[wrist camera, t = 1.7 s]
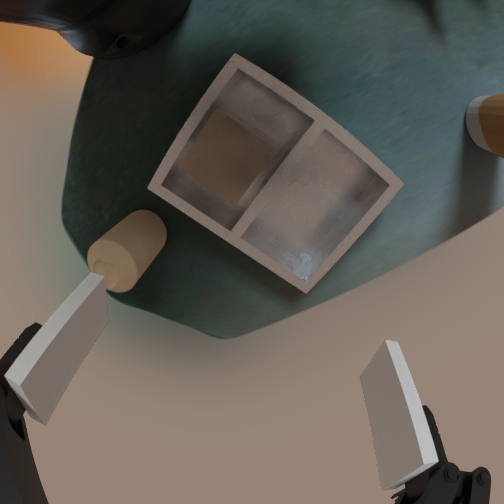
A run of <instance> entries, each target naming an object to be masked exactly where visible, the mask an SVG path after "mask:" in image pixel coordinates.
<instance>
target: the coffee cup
mask: <svg viewBox="0 0 504 504" xmlns="http://www.w3.org/2000/svg"><path fill="white" fill-rule="evenodd" d="M466 126H467V129H468V133H469V134H470V136H471V138H472V139H473V141H474V142H475V143H476V144H477V145H478V146H479V147H480V148H482V149H484V150H487V151H489V152H492V153H494V154H496V155H497V156H500V157H502V158H504V94H496V95H492V96H480V97H477V98H475V99H474V100H473V101H472V102H471V103H470V104H469V106H468V108H467V111H466Z"/></svg>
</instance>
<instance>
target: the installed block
mask: <svg viewBox="0 0 504 504" xmlns="http://www.w3.org/2000/svg"><path fill="white" fill-rule="evenodd" d="M276 151H277V142H276V140H274V139H273V138H271V137H270V136H269V135H267V134H266V133H264V132H263V131H261V130H260V129H258V128H257V127H255V126H254V125H253V124H251V123H250V122H248V121H247V120H245V119H243V118H242V117H240V116H239V115H237V114H236V113H234V112H233V111H227V110H221V109H215V111H214V112H213V114H212V115H211V116H210V118H209V119H208V121H207V122H206V124H205V125H204V127H203V128H202V130H201V131H200V133H199V134H198V136H197V138H196V139H195V141H194V142H193V144H192V145H191V147H190V148H189V150H188V152H187V153H186V155H185V156H184V158H183V160H182V161H181V163H180V165H179V166H178V168H179V169H180V170H182V171H183V172H185V173H186V174H188V175H189V176H191V177H192V178H194V179H195V180H197V181H198V182H200V183H201V184H203V185H204V186H206V187H207V188H209V189H210V190H212V191H213V192H215V193H216V194H218V195H219V196H221V197H222V198H224V199H225V200H227V201H228V202H230V203H231V204H232V205H234V206H236V205H237V203H238V202H239V200H240V199H241V198H242V196H243V195H244V194H245V192H246V191H247V189H248V188H249V187H250V185H251V184H252V183H253V181H254V180H255V179H256V177H257V176H258V174H259V173H260V172H261V170H262V169H263V168H264V166H265V165H266V164H267V162H268V161H269V160H270V158H271V157H272V156H273V154H274V153H275V152H276Z"/></svg>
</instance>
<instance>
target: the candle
mask: <svg viewBox="0 0 504 504" xmlns="http://www.w3.org/2000/svg"><path fill="white" fill-rule="evenodd" d="M166 239H167V230H166V227H165V224H164V222H163V221H162V219H161V218H160V217H159V216H158V215H157V214H155V213H153V212H151V211H149V210H137V211H135V212H133V213H131V214H130V215H128V216H127V217H126V218H124V219H123V220H122V221H120V222H119V223H118V224H117V225H115V226H114V227H113V228H112V229H110V230H109V231H108V232H107V233H105V234H104V235H103V236H102V237H101V238H99V239H98V240H97V241H96V242H95V243H93V244H92V245H91V247H90V249H89V251H88V256H87V261H88V266H89V269H90V272H93V273H96V274H99V275H102V276H105V285H106V289H108V290H110V291H114V292H126V291H128V290H130V289H131V288H132V287H133V286H134V285H135V284H136V282H137V281H138V280H139V278H140V277H141V276H142V274H143V273H144V272H145V270H146V269H147V268H148V266H149V265H150V264H151V262H152V261H153V260H154V258H155V257H156V256H157V255H158V253H159V252H160V251H161V249H162V248H163V247H164V245H165V242H166Z"/></svg>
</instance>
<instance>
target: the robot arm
mask: <svg viewBox="0 0 504 504" xmlns="http://www.w3.org/2000/svg"><path fill="white" fill-rule="evenodd" d="M189 2H190V0H0V22H5V23H14V24H21V25H27V26H33V27H39V28H44V29H50V30H54V31H57V32H58V33H59V34H60V35H61V36H62V37H63V38H64V39H65V40H66V41H67V42H68V43H69V44H70V45H71V46H72V47H73V48H75V49H76V50H77V51H79V52H81V53H83V54H85V55H89V56H93V57H97V58H103V59H116V58H122V57H126V56H129V55H132V54H135V53H137V52H139V51H141V50H143V49H145V48H147V47H149V46H150V45H152V44H153V43H155V42H156V41H158V40H159V39H160V38H162V37H163V36H164V35H165V34H166V33H167V32H168V31H169V30H170V29H171V28H172V27H173V26H174V25H175V24H176V23H177V22H178V20H179V19H180V18H181V16H182V15H183V13H184V12H185V10H186V8H187V6H188V4H189ZM108 322H109V319H108V310H107V298H106V285H105V276H102V275H99V274H96V273H93V272H91V273H90V274H89V275H88V276H87V277H86V278H85V279H84V280H83V281H82V282H81V283H80V284H79V285H78V286H77V288H76V289H75V290H74V291H73V292H72V293H71V294H70V295H69V296H68V297H67V298H66V300H65V301H64V302H63V303H62V304H61V305H60V306H59V307H58V309H57V310H56V311H55V312H54V313H53V314H52V316H51V317H50V318H49V319H48V320H47V321H46V323H45V324H44V325H43V326H42V325H40V324H38V323H34V324H32V325H31V326H29V327H27V328H26V329H25V330H24V331H23V333H22V334H21V335H20V336H19V338H18V339H17V340H16V341H15V342H14V344H13V345H12V346H11V347H10V348H9V350H8V351H7V352H6V353H5V354H4V356H3V357H2V358H1V360H0V504H48V501H47V498H46V495H45V493H44V490H43V487H42V484H41V481H40V478H39V475H38V472H37V469H36V465H35V462H34V458H33V454H32V451H31V447H30V442H29V439H28V434H27V429H26V424H25V419H24V416H23V414H24V412H25V410H26V411H27V412H28V414H29V415H30V417H32V418H33V419H35V420H36V421H38V422H40V423H42V424H43V425H45V426H46V424H47V422H48V421H49V419H50V417H51V415H52V413H53V411H54V410H55V408H56V406H57V404H58V402H59V401H60V399H61V397H62V395H63V394H64V392H65V390H66V389H67V387H68V385H69V383H70V382H71V380H72V378H73V377H74V375H75V373H76V372H77V370H78V368H79V367H80V365H81V364H82V362H83V360H84V359H85V357H86V356H87V354H88V352H89V351H90V349H91V348H92V346H93V345H94V343H95V342H96V340H97V338H98V337H99V335H100V334H101V332H102V331H103V329H104V328H105V326H106V324H107V323H108ZM360 379H361V384H362V388H363V393H364V397H365V402H366V407H367V411H368V416H369V421H370V426H371V432H372V437H373V442H374V448H375V454H376V460H377V465H378V472H379V479H380V486H381V491H382V490H390V489H396V488H397V487H399V486H401V485H403V484H405V489H403V490H401V491H399V492H398V493H396V494H394V495H393V496H392V497H391V499H393V498H395V497H397V496H399V497H398V498H397V499H396V500H395V501H396V502H395V504H489V499H490V488H491V476H490V473H489V471H488V470H487V469H486V468H484V467H479V468H477V469H475V470H474V471H472V472H464V471H460V470H459V468H458V467H457V466H456V465H455V464H453V463H451V462H448V460H447V458H446V455H445V451H444V448H443V444H442V441H441V438H440V434H439V433H438V428H437V426H436V422H435V419H434V416H433V414H432V412H431V411H430V410H429V408H428V407H427V406H422V405H421V402H420V399H419V396H418V393H417V390H416V388H415V385H414V382H413V380H412V377H411V374H410V372H409V369H408V366H407V364H406V361H405V359H404V357H403V354H402V351H401V349H400V346H399V344H398V342H396V341H389V340H385V341H384V342H383V344H382V345H381V347H380V348H379V350H378V351H377V353H376V354H375V356H374V357H373V359H372V360H371V362H370V363H369V364H368V366H367V367H366V369H365V370H364V372H363V373H362V374H361V376H360Z"/></svg>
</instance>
